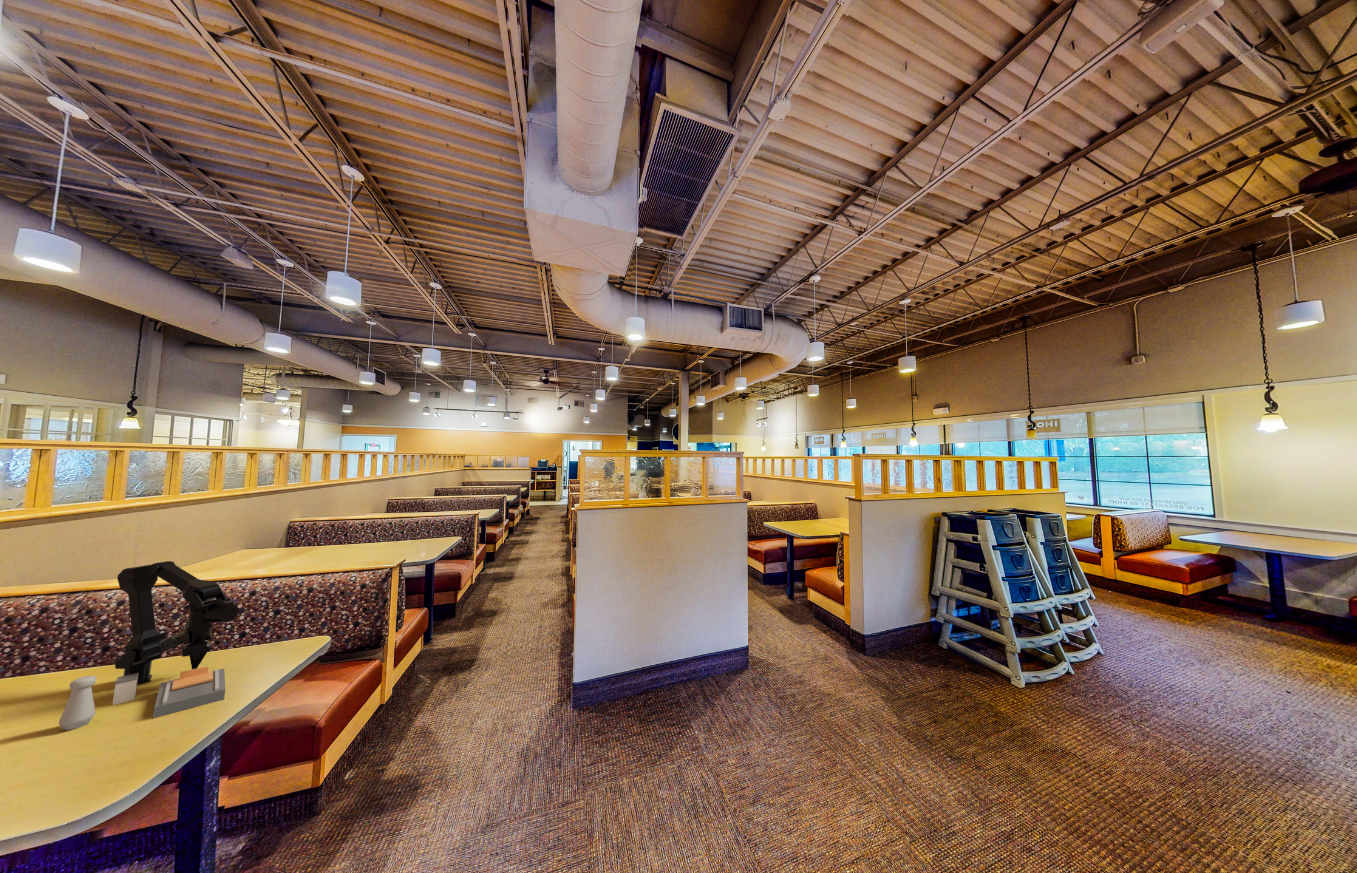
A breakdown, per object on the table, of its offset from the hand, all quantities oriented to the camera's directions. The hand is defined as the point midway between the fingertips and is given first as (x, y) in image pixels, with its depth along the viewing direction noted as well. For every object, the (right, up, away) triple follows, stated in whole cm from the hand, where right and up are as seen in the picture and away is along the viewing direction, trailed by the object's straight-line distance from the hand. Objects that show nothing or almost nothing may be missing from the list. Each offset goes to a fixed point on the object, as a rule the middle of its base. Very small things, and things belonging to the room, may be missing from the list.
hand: (194, 668), depth 140 cm
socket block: (+10, -4, -9) cm, 14 cm away
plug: (-8, -3, -12) cm, 15 cm away
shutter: (+7, -1, -6) cm, 9 cm away
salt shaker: (-3, -2, -25) cm, 26 cm away
